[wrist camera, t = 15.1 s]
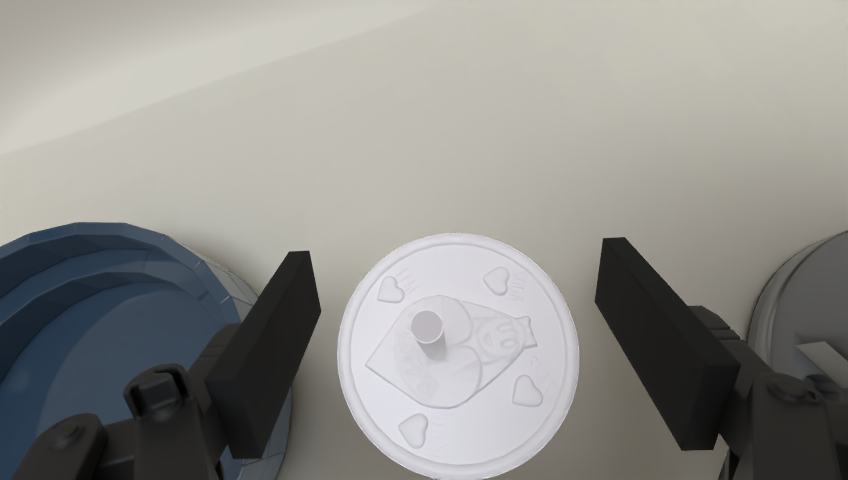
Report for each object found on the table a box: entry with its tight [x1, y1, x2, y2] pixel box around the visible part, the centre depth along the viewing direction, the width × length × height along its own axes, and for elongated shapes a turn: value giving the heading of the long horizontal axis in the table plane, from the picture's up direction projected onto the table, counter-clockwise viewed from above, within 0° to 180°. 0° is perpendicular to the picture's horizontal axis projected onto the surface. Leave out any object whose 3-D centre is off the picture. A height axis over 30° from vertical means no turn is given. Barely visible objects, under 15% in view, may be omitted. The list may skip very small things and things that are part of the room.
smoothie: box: [337, 233, 580, 480], centre depth 14 cm, size 6×6×14 cm
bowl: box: [0, 222, 292, 480], centre depth 18 cm, size 16×16×4 cm
